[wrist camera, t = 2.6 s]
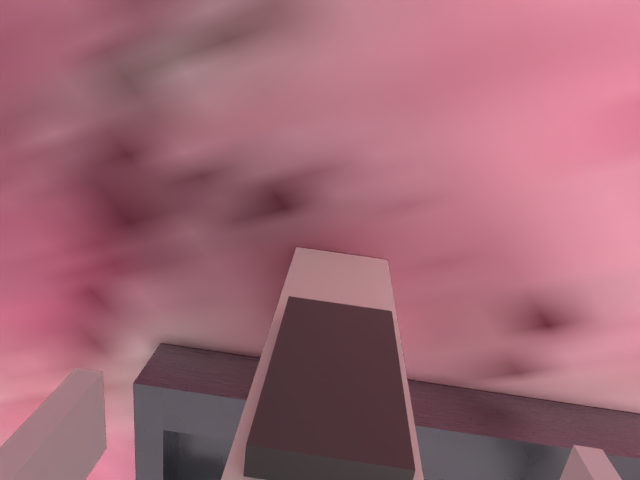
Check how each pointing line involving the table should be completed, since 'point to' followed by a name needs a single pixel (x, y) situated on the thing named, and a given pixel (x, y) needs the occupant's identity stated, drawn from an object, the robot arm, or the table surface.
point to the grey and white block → (428, 411)
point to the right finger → (329, 380)
